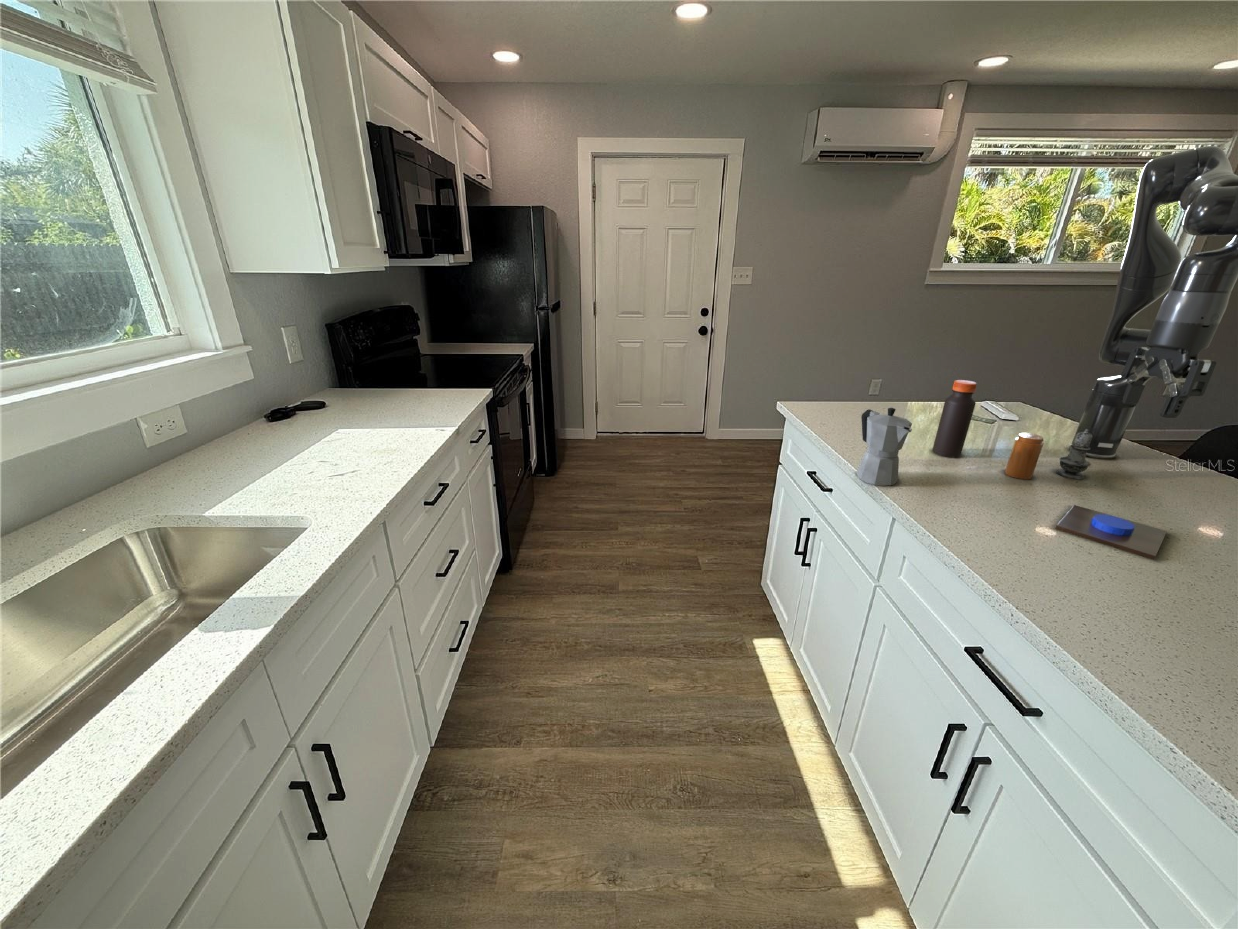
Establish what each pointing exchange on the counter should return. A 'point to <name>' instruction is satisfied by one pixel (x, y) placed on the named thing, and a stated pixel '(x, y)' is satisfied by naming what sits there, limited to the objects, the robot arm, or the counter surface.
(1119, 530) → the lid
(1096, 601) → the counter surface
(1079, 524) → the board
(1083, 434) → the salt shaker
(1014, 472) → the jar
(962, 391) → the bottle
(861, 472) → the coffeepot
